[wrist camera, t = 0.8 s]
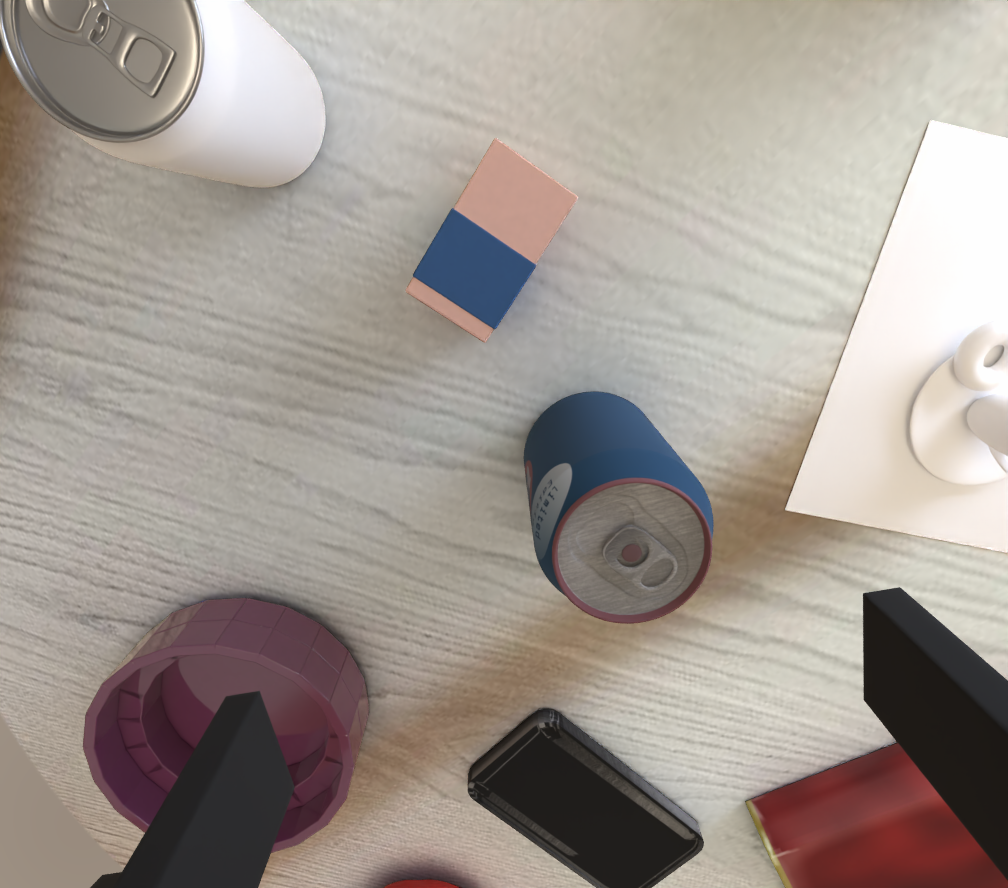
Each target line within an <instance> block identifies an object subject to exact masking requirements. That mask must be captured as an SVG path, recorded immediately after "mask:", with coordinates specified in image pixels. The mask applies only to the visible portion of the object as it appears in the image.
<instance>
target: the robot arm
mask: <svg viewBox="0 0 1008 888" xmlns="http://www.w3.org/2000/svg"><path fill="white" fill-rule="evenodd" d="M863 653H864V701H865V702H866V703H867V704H868V706H869V707H870V708H871V709H872V711H873V712H874V713H875V715H876V716H877V717H878V718H879V720H880V721H881V722H882V723H883V725H884V726H885V727H886V728H887V730H888V731H889V732H890V733H891V735H892V736H893V737H894V738H895V740H896V741H897V742H898V743H899V745H900V746H901V747H902V748H903V750H904V751H905V752H906V754H907V755H908V756H909V757H910V759H911V760H912V761H913V762H914V764H915V765H916V766H917V767H918V769H919V770H920V771H921V772H922V774H923V775H924V776H925V777H926V779H927V780H928V781H929V782H930V784H931V785H932V786H933V788H934V789H935V790H936V791H937V793H938V794H939V795H940V796H941V798H942V799H943V800H944V801H945V803H946V804H947V805H948V806H949V808H950V809H951V810H952V811H953V813H954V814H955V815H956V816H957V818H958V819H959V820H960V821H961V823H962V824H963V825H964V827H965V828H966V829H967V830H968V832H969V833H970V834H971V835H972V837H973V838H974V839H975V840H976V842H977V843H978V844H979V845H980V847H981V848H982V849H983V850H984V852H985V853H986V854H987V855H988V857H989V858H990V859H991V860H992V862H993V863H994V864H995V866H996V867H997V868H998V869H999V871H1000V872H1001V873H1002V874H1003V876H1004V877H1005V878H1006V879H1007V881H1008V681H1007V680H1006V679H1005V678H1004V677H1003V676H1002V675H1001V674H999V673H998V672H997V671H996V670H995V669H994V668H992V667H991V666H990V665H989V664H988V663H987V662H986V661H984V660H983V659H982V658H981V657H980V656H979V655H977V654H976V653H975V652H974V651H973V650H972V649H971V648H969V647H968V646H967V645H966V644H965V643H964V642H962V641H961V640H960V639H959V638H958V637H957V636H956V635H954V634H953V633H952V632H951V631H950V630H949V629H947V628H946V627H945V626H944V625H943V624H942V623H941V622H939V621H938V620H937V619H936V618H935V617H934V616H932V615H931V614H930V613H929V612H928V611H927V610H926V609H924V608H923V607H922V606H921V605H920V604H919V603H917V602H916V601H915V600H914V599H913V598H912V597H911V596H909V595H908V594H907V593H906V592H905V591H904V590H902V589H901V588H900V587H899V588H893V589H887V590H881V591H875V592H869V593H863ZM294 788H295V786H294V784H293V781H292V778H291V775H290V773H289V770H288V767H287V764H286V762H285V759H284V756H283V753H282V751H281V748H280V745H279V743H278V740H277V737H276V734H275V732H274V729H273V726H272V723H271V721H270V718H269V715H268V712H267V710H266V707H265V704H264V701H263V699H262V696H261V693H260V691H255V692H249V693H243V694H237V695H231V696H226V697H225V699H224V700H223V702H222V704H221V706H220V707H219V709H218V711H217V712H216V714H215V716H214V717H213V719H212V721H211V722H210V724H209V726H208V728H207V729H206V731H205V733H204V734H203V736H202V738H201V739H200V741H199V743H198V744H197V746H196V748H195V750H194V751H193V753H192V755H191V756H190V758H189V760H188V761H187V763H186V765H185V766H184V768H183V770H182V772H181V773H180V775H179V777H178V778H177V780H176V782H175V783H174V785H173V787H172V789H171V790H170V792H169V794H168V795H167V797H166V799H165V800H164V802H163V804H162V805H161V807H160V809H159V811H158V812H157V814H156V816H155V817H154V819H153V821H152V822H151V824H150V826H149V827H148V829H147V831H146V833H145V834H144V836H143V838H142V839H141V841H140V843H139V844H138V846H137V848H136V849H135V851H134V853H133V855H132V856H131V858H130V860H129V861H128V863H127V865H126V866H125V868H124V870H123V871H122V872H120V873H113V874H106V875H102V876H101V877H100V878H99V879H98V880H97V881H96V882H95V883H94V884H93V885H92V886H91V888H258V886H259V884H260V881H261V878H262V875H263V873H264V870H265V867H266V864H267V862H268V859H269V856H270V854H271V851H272V848H273V845H274V843H275V840H276V837H277V835H278V832H279V829H280V826H281V824H282V821H283V818H284V815H285V813H286V810H287V807H288V805H289V802H290V799H291V796H292V794H293V791H294Z"/></svg>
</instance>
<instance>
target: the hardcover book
mask: <svg viewBox="0 0 1008 888" xmlns="http://www.w3.org/2000/svg"><path fill="white" fill-rule="evenodd" d="M745 802H746V805H747V807H748V810H749V812H750V814H751V817H752V819H753V821H754V823H755V826H756V828H757V830H758V832H759V835H760V837H761V839H762V841H763V844H764V846H765V848H766V850H767V852H768V855H769V857H770V859H771V861H772V863H773V865H774V867H775V869H776V870H777V872H778V874H779V876H780V878H781V880H782V882H783V884H784V886H785V888H1008V881H1007V879H1006V878H1005V877H1004V876H1003V874H1002V873H1001V872H1000V871H999V869H998V868H997V867H996V866H995V864H994V863H993V862H992V860H991V859H990V858H989V857H988V855H987V854H986V853H985V852H984V850H983V849H982V848H981V847H980V845H979V844H978V843H977V842H976V840H975V839H974V838H973V837H972V835H971V834H970V833H969V832H968V830H967V829H966V828H965V827H964V825H963V824H962V823H961V821H960V820H959V819H958V818H957V816H956V815H955V814H954V813H953V811H952V810H951V809H950V808H949V806H948V805H947V804H946V803H945V801H944V800H943V799H942V798H941V796H940V795H939V794H938V793H937V791H936V790H935V789H934V788H933V786H932V785H931V784H930V782H929V781H928V780H927V779H926V777H925V776H924V775H923V774H922V772H921V771H920V770H919V769H918V767H917V766H916V765H915V764H914V762H913V761H912V760H911V759H910V757H909V756H908V755H907V754H906V752H905V751H904V750H903V748H902V747H901V746H900V745H899V743H896V744H893V745H891V746H888V747H886V748H883V749H880V750H878V751H875V752H873V753H870V754H867V755H865V756H862V757H860V758H857V759H855V760H852V761H849V762H847V763H844V764H842V765H839V766H836V767H834V768H831V769H829V770H826V771H823V772H821V773H818V774H816V775H813V776H810V777H808V778H805V779H803V780H800V781H797V782H795V783H792V784H790V785H787V786H784V787H782V788H779V789H777V790H774V791H771V792H769V793H766V794H764V795H761V796H758V797H756V798H753V799H751V800H748V801H745Z"/></svg>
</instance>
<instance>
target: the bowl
mask: <svg viewBox="0 0 1008 888" xmlns="http://www.w3.org/2000/svg"><path fill="white" fill-rule="evenodd" d="M255 691H260V693H261V696H262V699H263V701H264V704H265V707H266V710H267V712H268V715H269V718H270V721H271V723H272V726H273V729H274V732H275V734H276V737H277V740H278V743H279V745H280V748H281V751H282V753H283V756H284V759H285V762H286V764H287V767H288V770H289V773H290V775H291V778H292V781H293V784H294V786H295V788H294V791H293V794H292V796H291V799H290V802H289V805H288V807H287V810H286V813H285V815H284V818H283V821H282V824H281V826H280V829H279V832H278V835H277V837H276V840H275V843H274V845H273V848H272V851H271V853H273V852H276V851H280V850H283V849H286V848H289V847H292V846H296V845H298V844H300V843H301V842H303V841H304V840H306V839H307V838H309V837H310V836H312V835H313V834H315V833H316V832H318V831H319V830H321V829H322V828H324V827H325V826H326V825H328V823H329V822H330V821H331V819H332V818H333V816H334V815H335V814H336V812H337V811H338V810H339V808H340V807H341V806H342V804H343V803H344V802H345V800H346V798H347V795H348V791H349V788H350V784H351V780H352V776H353V773H354V769H355V765H356V762H357V758H358V754H359V750H360V747H361V743H362V739H363V735H364V731H365V727H366V723H367V719H368V715H369V705H368V699H367V692H366V685H365V680H364V678H363V676H362V674H361V672H360V670H359V669H358V667H357V665H356V663H355V661H354V659H353V658H352V656H351V654H350V652H349V651H348V649H347V648H346V647H344V646H343V645H342V644H341V643H340V642H339V641H338V640H337V639H336V638H335V637H334V636H333V635H332V634H331V633H330V632H329V631H328V630H327V629H326V628H325V627H324V626H321V624H320V623H318V622H316V621H314V620H312V619H310V618H308V617H306V616H304V615H302V614H300V613H299V612H297V611H295V610H293V609H291V608H289V607H286V606H282V605H277V604H273V603H268V602H264V601H259V600H255V599H250V598H248V599H247V598H234V599H215V600H206V601H203V602H201V603H198V604H195V605H192V606H189V607H187V608H184V609H181V610H178V611H175V612H173V613H171V614H170V615H169V616H167V617H166V618H165V619H164V620H162V621H161V622H160V623H159V624H158V625H156V626H155V627H154V628H153V629H151V630H150V631H149V632H148V633H147V634H146V635H145V636H144V637H143V638H142V639H141V640H140V641H139V643H138V644H137V645H136V646H135V647H134V648H133V649H132V650H131V652H130V653H129V654H128V655H127V656H126V657H125V658H124V660H123V661H122V662H121V663H120V664H119V665H118V666H117V667H116V669H115V670H114V671H113V672H112V673H111V674H110V675H109V676H108V678H107V679H106V680H105V681H104V682H103V683H102V685H101V686H100V688H99V690H98V692H97V694H96V696H95V697H94V699H93V701H92V703H91V705H90V707H89V708H88V710H87V712H86V715H85V727H84V739H83V750H84V753H85V756H86V759H87V762H88V765H89V768H90V771H91V774H92V778H93V780H94V782H95V783H96V785H97V786H98V787H99V789H100V790H101V791H102V793H103V794H104V795H105V797H106V798H107V799H108V801H109V802H110V803H111V805H112V806H113V808H114V809H115V810H116V811H117V812H118V813H120V814H121V815H122V816H124V817H125V818H126V819H128V820H129V821H130V822H131V823H133V824H134V825H135V826H137V827H138V828H139V829H141V830H142V831H143V832H145V833H146V831H147V829H148V827H149V826H150V824H151V822H152V821H153V819H154V817H155V816H156V814H157V812H158V811H159V809H160V807H161V805H162V804H163V802H164V800H165V799H166V797H167V795H168V794H169V792H170V790H171V789H172V787H173V785H174V783H175V782H176V780H177V778H178V777H179V775H180V773H181V772H182V770H183V768H184V766H185V765H186V763H187V761H188V760H189V758H190V756H191V755H192V753H193V751H194V750H195V748H196V746H197V744H198V743H199V741H200V739H201V738H202V736H203V734H204V733H205V731H206V729H207V728H208V726H209V724H210V722H211V721H212V719H213V717H214V716H215V714H216V712H217V711H218V709H219V707H220V706H221V704H222V702H223V700H224V699H225V697H226V696H231V695H237V694H243V693H249V692H255Z"/></svg>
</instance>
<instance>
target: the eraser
mask: <svg viewBox="0 0 1008 888" xmlns="http://www.w3.org/2000/svg"><path fill="white" fill-rule="evenodd" d="M577 199H578V196H577V195H575V194H574V193H572V192H571V191H570V190H568V189H567V188H565V187H564V186H563V185H561V184H560V183H558V182H557V181H556V180H554V179H553V178H551V177H550V176H549V175H547V174H546V173H544V172H543V171H542V170H540V169H539V168H537V167H536V166H535V165H533V164H532V163H530V162H529V161H528V160H526V159H525V158H523V157H522V156H521V155H519V154H518V153H516V152H515V151H514V150H512V149H511V148H509V147H508V146H507V145H505V144H504V143H502V142H501V141H500V140H498V139H497V138H495V139H494V140H493V142H492V144H491V145H490V147H489V149H488V150H487V152H486V154H485V155H484V157H483V159H482V161H481V162H480V164H479V166H478V167H477V169H476V171H475V172H474V174H473V176H472V178H471V179H470V181H469V183H468V184H467V186H466V188H465V189H464V191H463V193H462V195H461V196H460V198H459V200H458V201H457V203H456V205H455V206H454V208H452V209H451V211H450V212H449V214H448V216H447V217H446V219H445V221H444V223H443V224H442V226H441V228H440V229H439V231H438V233H437V234H436V236H435V238H434V240H433V241H432V243H431V245H430V246H429V248H428V250H427V252H426V253H425V255H424V257H423V258H422V260H421V262H420V263H419V265H418V267H417V269H416V270H415V272H414V274H413V278H412V280H411V281H410V283H409V285H408V286H407V288H406V290H405V291H406V292H407V293H408V294H410V295H411V296H413V297H414V298H416V299H417V300H419V301H421V302H422V303H424V304H425V305H427V306H428V307H430V308H431V309H433V310H434V311H436V312H438V313H439V314H441V315H442V316H444V317H445V318H447V319H448V320H450V321H452V322H453V323H455V324H456V325H458V326H459V327H461V328H462V329H464V330H465V331H467V332H469V333H470V334H472V335H473V336H475V337H476V338H478V339H479V340H481V341H483V342H486V341H487V340H488V338H489V336H490V335H491V333H492V332H493V330H494V329H496V328H497V326H498V325H499V323H500V322H501V320H502V318H503V317H504V315H505V314H506V312H507V311H508V309H509V308H510V306H511V304H512V303H513V301H514V300H515V298H516V297H517V295H518V294H519V292H520V290H521V289H522V287H523V286H524V284H525V283H526V281H527V279H528V278H529V276H530V275H531V273H532V272H533V270H534V269H535V267H536V263H537V262H538V260H539V258H540V257H541V255H542V254H543V252H544V251H545V249H546V247H547V246H548V244H549V243H550V241H551V240H552V238H553V237H554V235H555V233H556V232H557V230H558V229H559V227H560V226H561V224H562V223H563V221H564V219H565V218H566V216H567V215H568V213H569V212H570V210H571V208H572V207H573V205H574V204H575V202H576V201H577Z"/></svg>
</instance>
